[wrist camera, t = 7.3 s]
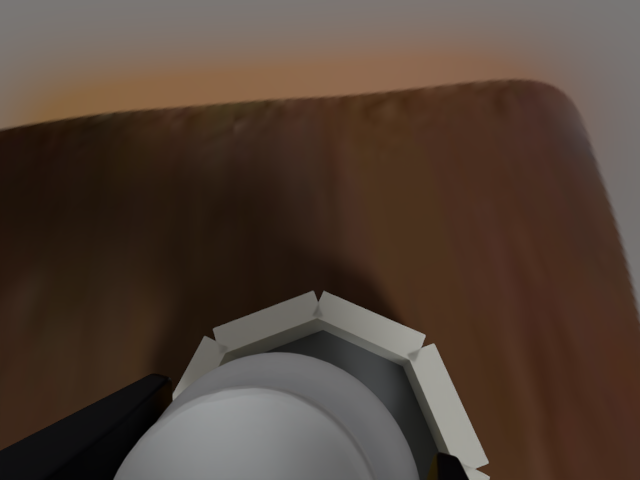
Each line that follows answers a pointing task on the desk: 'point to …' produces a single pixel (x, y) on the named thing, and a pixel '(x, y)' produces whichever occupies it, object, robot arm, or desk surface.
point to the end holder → (358, 368)
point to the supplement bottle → (273, 427)
